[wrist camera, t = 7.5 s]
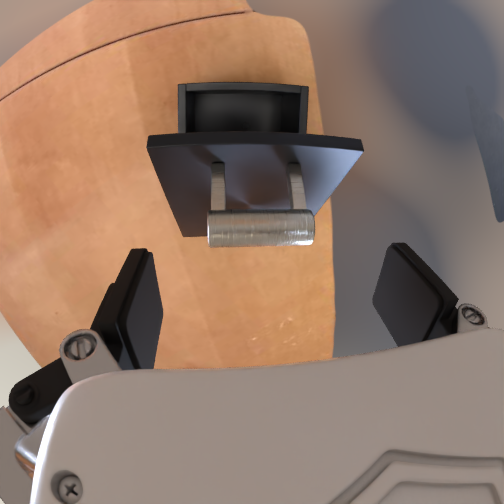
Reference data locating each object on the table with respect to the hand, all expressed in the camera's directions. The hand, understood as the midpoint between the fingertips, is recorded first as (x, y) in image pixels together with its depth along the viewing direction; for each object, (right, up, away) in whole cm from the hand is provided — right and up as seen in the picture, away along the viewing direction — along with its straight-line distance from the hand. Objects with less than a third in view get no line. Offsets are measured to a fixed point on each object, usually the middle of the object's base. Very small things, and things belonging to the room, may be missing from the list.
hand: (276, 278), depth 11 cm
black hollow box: (-3, +13, +21) cm, 25 cm away
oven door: (-1, +5, +9) cm, 10 cm away
